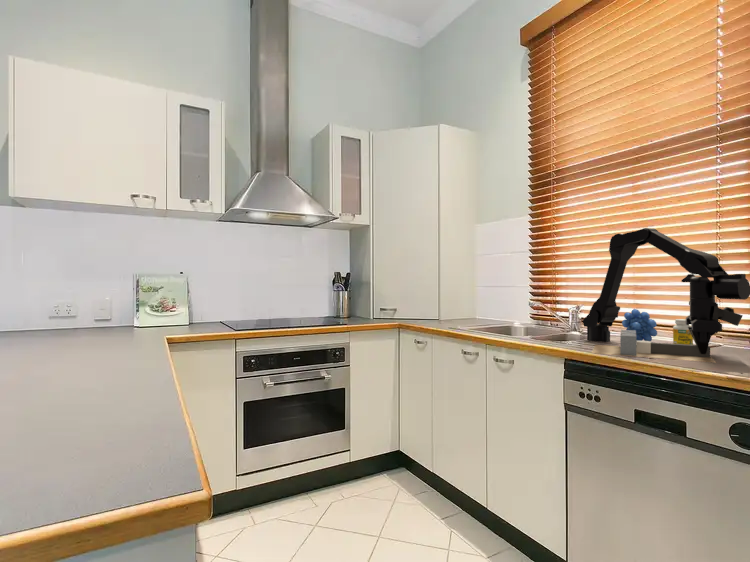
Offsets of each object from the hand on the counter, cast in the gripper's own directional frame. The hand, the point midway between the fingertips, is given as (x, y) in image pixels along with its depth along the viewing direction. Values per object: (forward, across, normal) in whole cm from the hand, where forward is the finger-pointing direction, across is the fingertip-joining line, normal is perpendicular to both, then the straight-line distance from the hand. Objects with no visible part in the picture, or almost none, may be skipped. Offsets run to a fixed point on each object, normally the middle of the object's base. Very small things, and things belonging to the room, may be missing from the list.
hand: (702, 353), depth 120 cm
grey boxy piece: (+1, 0, +18) cm, 18 cm away
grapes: (+2, +32, +15) cm, 35 cm away
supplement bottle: (+2, +23, +3) cm, 23 cm away
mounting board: (+2, 0, +13) cm, 13 cm away
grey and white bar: (+1, 0, +8) cm, 8 cm away
